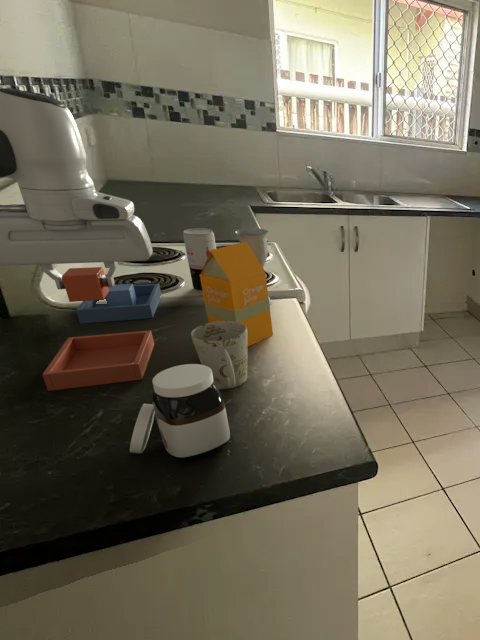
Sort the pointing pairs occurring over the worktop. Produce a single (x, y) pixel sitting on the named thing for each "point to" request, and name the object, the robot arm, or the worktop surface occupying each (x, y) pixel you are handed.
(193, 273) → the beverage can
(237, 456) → the worktop surface
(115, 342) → the rust tray
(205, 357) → the mug
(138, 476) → the worktop surface
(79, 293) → the rust block
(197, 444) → the spread jar
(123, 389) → the worktop surface
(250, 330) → the orange juice
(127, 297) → the blue block
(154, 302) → the blue tray
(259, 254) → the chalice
